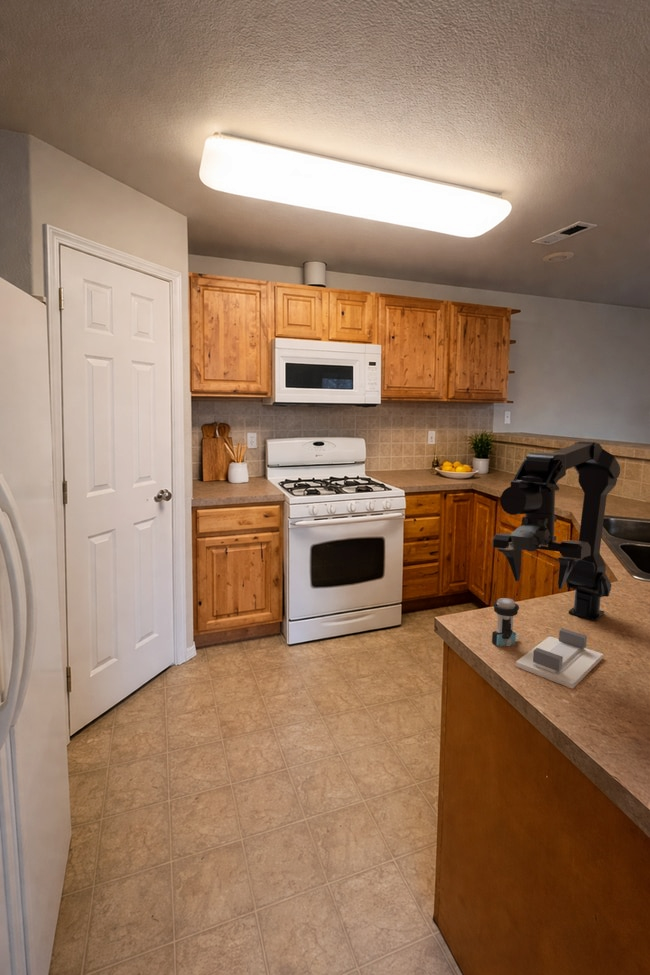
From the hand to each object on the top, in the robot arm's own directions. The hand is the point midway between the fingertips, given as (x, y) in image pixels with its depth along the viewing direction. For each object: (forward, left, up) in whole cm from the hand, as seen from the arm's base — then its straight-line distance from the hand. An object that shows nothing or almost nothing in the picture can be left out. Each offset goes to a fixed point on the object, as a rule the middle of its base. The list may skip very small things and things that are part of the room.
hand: (538, 584), depth 102 cm
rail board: (+2, +6, -14) cm, 16 cm away
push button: (+2, -5, -15) cm, 16 cm away
